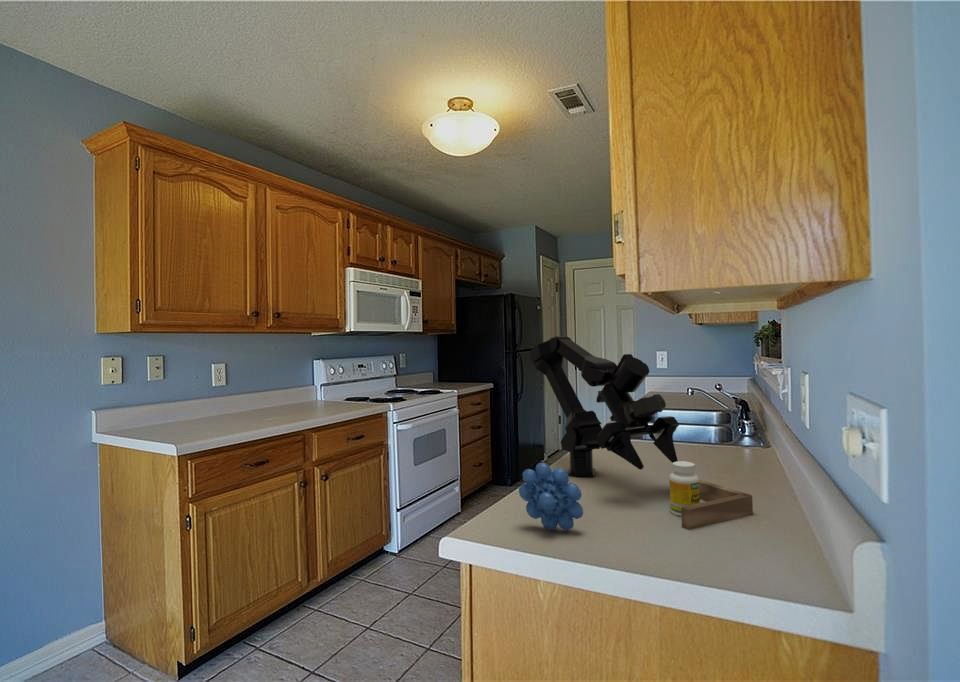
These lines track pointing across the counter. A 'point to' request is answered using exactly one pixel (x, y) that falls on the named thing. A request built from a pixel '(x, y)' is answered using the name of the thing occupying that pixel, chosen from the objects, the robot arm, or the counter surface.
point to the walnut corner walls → (716, 506)
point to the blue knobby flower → (551, 497)
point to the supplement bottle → (683, 486)
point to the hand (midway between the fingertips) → (659, 465)
